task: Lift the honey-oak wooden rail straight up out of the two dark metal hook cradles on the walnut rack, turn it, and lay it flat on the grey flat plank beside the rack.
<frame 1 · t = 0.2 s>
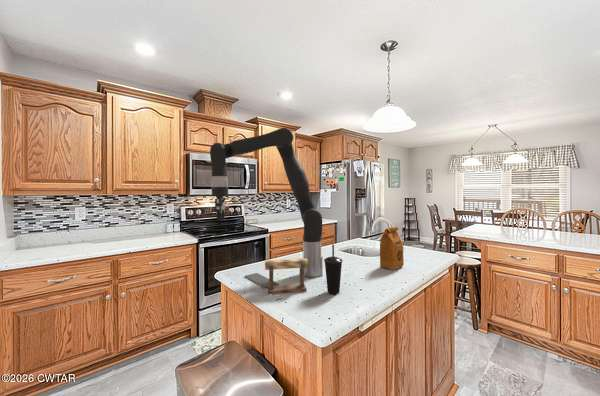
hand: (220, 220, 120), 29 cm above the counter, fingers open, 8 cm apart
rack: (286, 291, 107), on the counter
rail: (286, 267, 107), point 10 cm above the counter, touching rack
drinking cup: (333, 292, 105), on the counter
grey flat plank: (260, 280, 120), on the counter
coffee package: (392, 267, 138), on the counter
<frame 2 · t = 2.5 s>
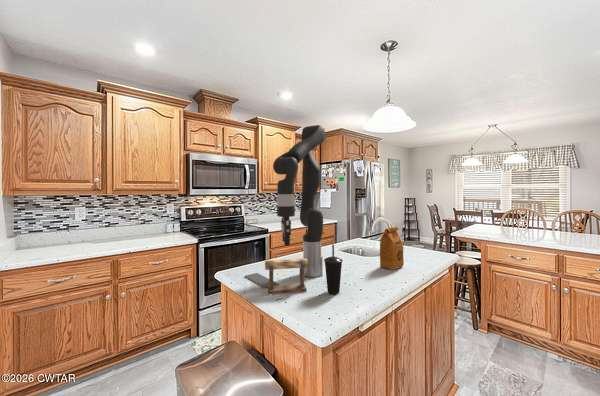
hand: (286, 243, 107), 20 cm above the counter, fingers open, 8 cm apart
nothing on the counter moved.
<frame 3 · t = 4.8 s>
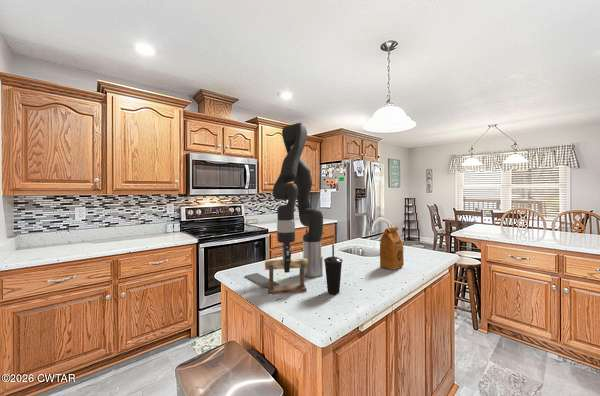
hand: (286, 270, 107), 9 cm above the counter, fingers closed on rail, 3 cm apart
rail: (286, 267, 107), point 10 cm above the counter, touching gripper, rack
everything else where it was.
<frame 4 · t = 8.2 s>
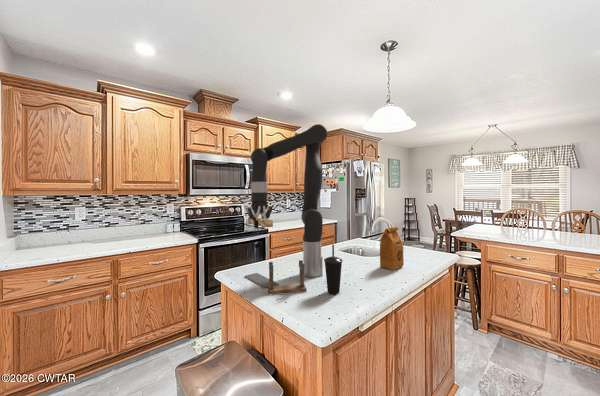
hand: (259, 228, 119), 25 cm above the counter, fingers closed on rail, 3 cm apart
rail: (259, 225, 119), point 26 cm above the counter, touching gripper
everything else where it was.
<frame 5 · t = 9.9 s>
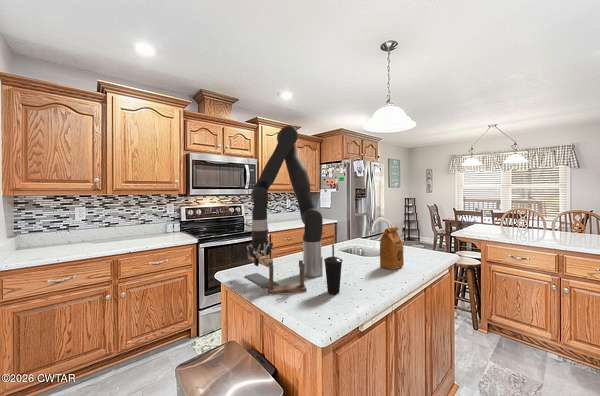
hand: (260, 264, 120), 7 cm above the counter, fingers closed on rail, 3 cm apart
rail: (260, 262, 120), point 9 cm above the counter, touching gripper
everything else where it was.
when the fingers open (1 cm above the counter, at t = 11.6 s): rail drops 2 cm, resting on grey flat plank.
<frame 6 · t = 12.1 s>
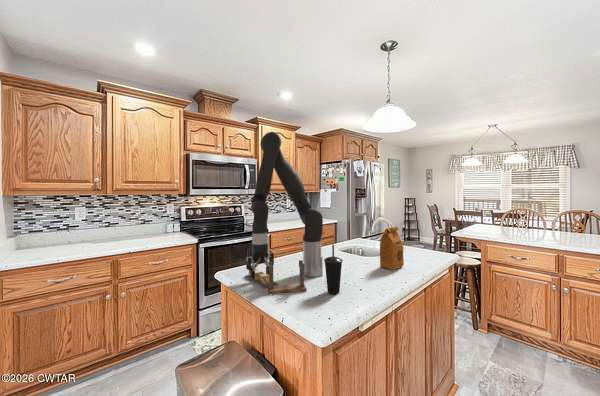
hand: (260, 276, 120), 2 cm above the counter, fingers open, 7 cm apart
rail: (260, 279, 120), resting on grey flat plank
everything else where it was.
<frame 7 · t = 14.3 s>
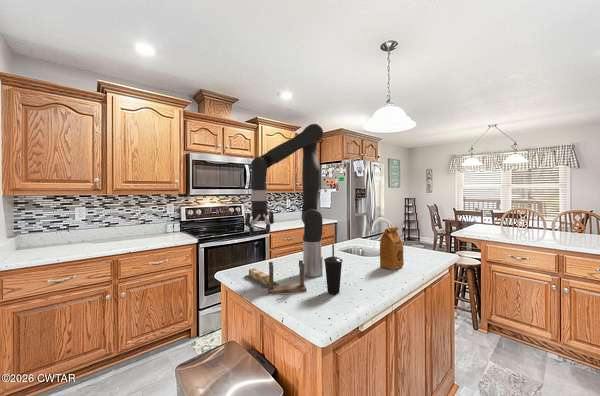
hand: (260, 234, 120), 22 cm above the counter, fingers open, 8 cm apart
nothing on the counter moved.
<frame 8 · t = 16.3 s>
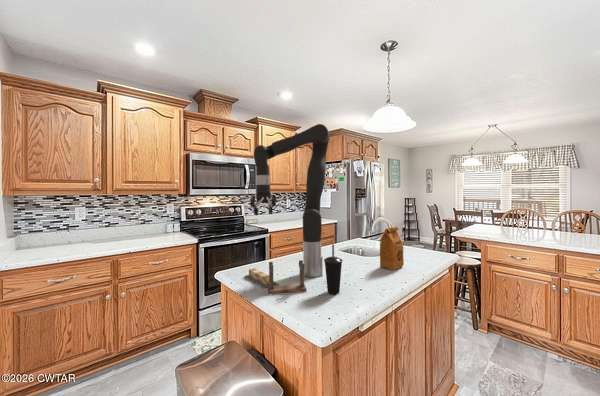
hand: (263, 214, 134), 30 cm above the counter, fingers open, 8 cm apart
nothing on the counter moved.
at the end: rail inside the target area on the grey flat plank (0.1 cm from its centre), point 0.5 cm above the grey flat plank's base; rail tilted 0°; the gripper is holding nothing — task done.
